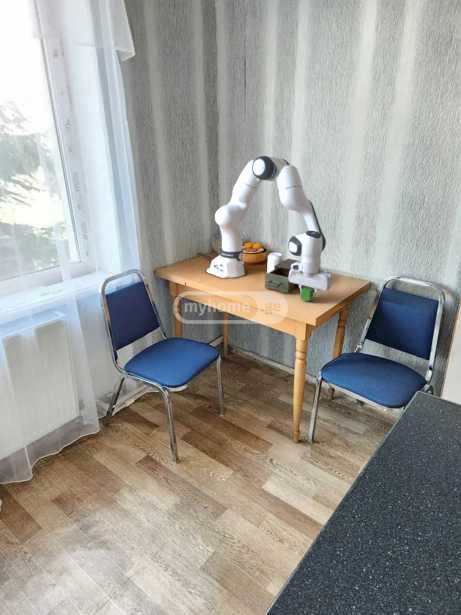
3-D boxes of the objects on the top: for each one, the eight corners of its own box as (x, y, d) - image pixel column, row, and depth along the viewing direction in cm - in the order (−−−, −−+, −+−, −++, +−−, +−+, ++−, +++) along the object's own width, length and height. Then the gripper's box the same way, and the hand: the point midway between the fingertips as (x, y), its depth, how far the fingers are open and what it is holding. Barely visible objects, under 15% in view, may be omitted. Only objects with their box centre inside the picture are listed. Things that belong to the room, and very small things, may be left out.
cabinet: (298, 288, 202) (299, 270, 198) (273, 282, 210) (274, 265, 206) (311, 280, 213) (312, 263, 209) (287, 275, 221) (288, 258, 217)
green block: (309, 301, 185) (310, 291, 183) (300, 299, 187) (301, 289, 185) (314, 297, 189) (315, 287, 187) (306, 294, 192) (307, 285, 190)
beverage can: (281, 278, 217) (282, 257, 212) (266, 277, 218) (267, 256, 213) (282, 273, 224) (283, 252, 219) (268, 272, 225) (268, 251, 220)
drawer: (283, 296, 191) (283, 281, 188) (259, 290, 198) (259, 275, 195) (300, 284, 205) (301, 270, 201) (277, 279, 212) (278, 265, 209)
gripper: (334, 269, 179) (331, 297, 184) (294, 261, 190) (292, 287, 195) (328, 273, 174) (325, 302, 180) (287, 264, 185) (286, 291, 191)
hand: (307, 294), depth 188 cm, fingers closed on green block, 4 cm apart
